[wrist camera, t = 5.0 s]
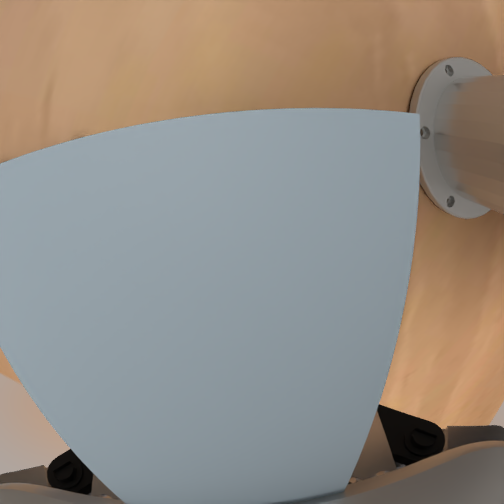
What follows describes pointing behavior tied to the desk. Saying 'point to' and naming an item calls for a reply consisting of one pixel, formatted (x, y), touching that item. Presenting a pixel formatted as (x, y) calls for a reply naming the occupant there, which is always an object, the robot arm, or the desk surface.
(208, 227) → the grey slab
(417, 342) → the desk surface
